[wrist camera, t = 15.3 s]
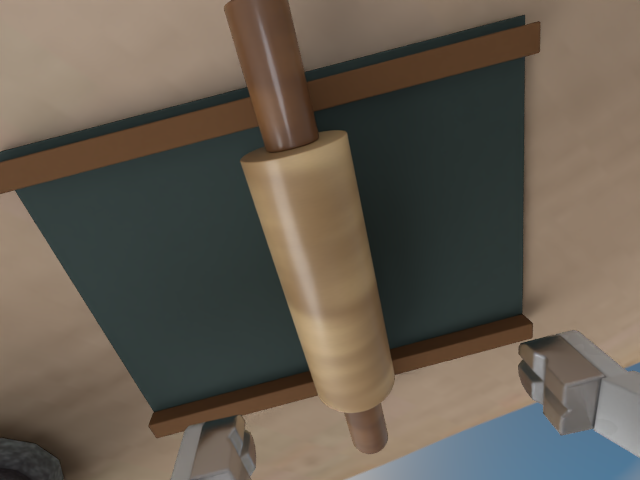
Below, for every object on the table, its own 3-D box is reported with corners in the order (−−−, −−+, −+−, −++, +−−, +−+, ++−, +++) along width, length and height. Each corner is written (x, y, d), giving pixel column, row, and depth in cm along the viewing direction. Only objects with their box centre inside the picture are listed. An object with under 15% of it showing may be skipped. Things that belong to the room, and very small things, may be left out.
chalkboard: (518, 16, 16) (541, 9, 14) (517, 328, 23) (532, 343, 22) (-1, 152, 16) (-28, 158, 14) (166, 421, 23) (158, 443, 22)
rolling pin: (311, -1, 14) (324, -38, 10) (393, 398, 23) (417, 462, 19) (204, 26, 14) (174, 0, 10) (330, 415, 23) (341, 483, 19)
